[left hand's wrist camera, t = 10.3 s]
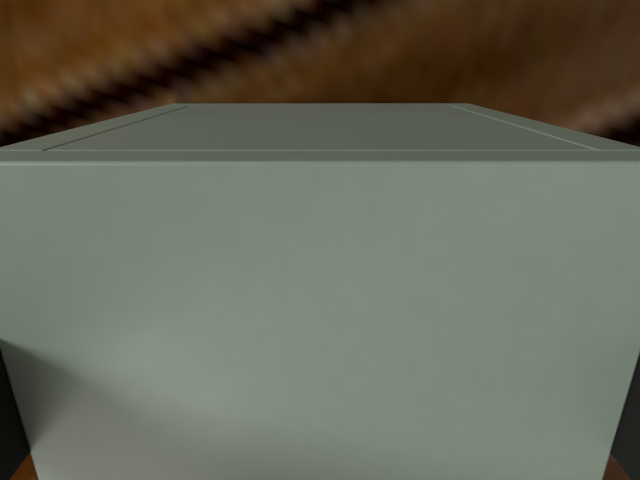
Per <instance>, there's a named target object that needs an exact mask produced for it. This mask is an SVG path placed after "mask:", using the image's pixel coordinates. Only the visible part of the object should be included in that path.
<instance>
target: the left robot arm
mask: <svg viewBox="0 0 640 480" xmlns="http://www.w3.org/2000/svg"><path fill="white" fill-rule="evenodd" d="M29 453H30V448H29V445H28V442H27V438H26V435H25V432H24V428H23V425H22V422H21V418H20V415H19V412H18V408H17V405H16V402H15V398H14V395H13V392H12V388H11V385H10V381H9V378H8V375H7V371H6V368H5V365H4V361H3V358H2V355H1V351H0V480H10V478H11V477H12V476H13V474H14V473H15V472H16V470H17V469H18V468H19V466H20V465H21V464H22V462H23V461H24V460H25V458H26V457H27V456H28V454H29ZM611 453H612V455H613V456H614V457H615V459H616V460H617V461H618V463H619V464H620V465H621V467H622V468H623V469H624V471H625V472H626V473H627V475H628V476H629V477H630V479H631V480H640V356H639V359H638V362H637V366H636V369H635V373H634V376H633V379H632V383H631V386H630V389H629V393H628V396H627V399H626V403H625V406H624V409H623V413H622V416H621V419H620V423H619V426H618V429H617V433H616V436H615V440H614V443H613V446H612V450H611Z"/></svg>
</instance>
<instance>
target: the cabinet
mask: <svg viewBox="0 0 640 480" xmlns="http://www.w3.org/2000/svg"><path fill="white" fill-rule="evenodd" d="M0 351H1V355H2V358H3V361H4V365H5V368H6V371H7V375H8V378H9V381H10V385H11V388H12V392H13V395H14V398H15V402H16V405H17V408H18V412H19V415H20V418H21V422H22V425H23V428H24V432H25V435H26V438H27V442H28V445H29V448H30V452H31V455H32V458H33V462H34V465H35V469H36V472H37V475H38V479H39V480H603V476H604V473H605V470H606V466H607V463H608V460H609V456H610V453H611V450H612V446H613V443H614V440H615V436H616V433H617V429H618V426H619V423H620V419H621V416H622V413H623V409H624V406H625V403H626V399H627V396H628V393H629V389H630V386H631V383H632V379H633V376H634V373H635V369H636V366H637V362H638V359H639V356H640V147H637V146H633V145H629V144H625V143H621V142H617V141H614V140H610V139H606V138H602V137H598V136H594V135H590V134H586V133H582V132H578V131H574V130H570V129H567V128H563V127H559V126H555V125H551V124H547V123H543V122H539V121H535V120H531V119H527V118H523V117H519V116H516V115H512V114H508V113H504V112H500V111H496V110H492V109H488V108H484V107H480V106H476V105H473V104H469V103H209V104H169V105H166V106H161V107H157V108H153V109H149V110H145V111H141V112H137V113H134V114H130V115H126V116H122V117H118V118H114V119H110V120H106V121H102V122H98V123H94V124H90V125H86V126H82V127H79V128H75V129H71V130H67V131H63V132H59V133H55V134H51V135H47V136H43V137H39V138H35V139H31V140H27V141H23V142H20V143H16V144H12V145H8V146H4V147H0Z"/></svg>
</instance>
